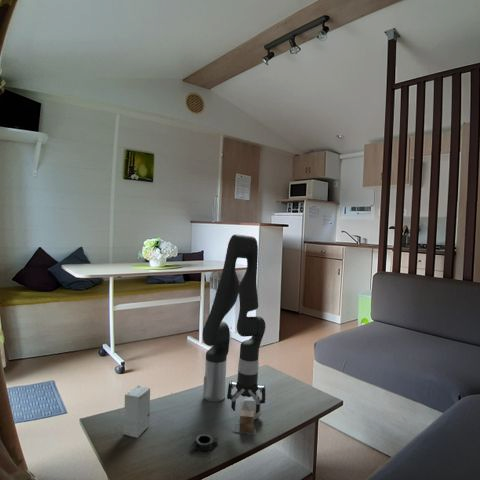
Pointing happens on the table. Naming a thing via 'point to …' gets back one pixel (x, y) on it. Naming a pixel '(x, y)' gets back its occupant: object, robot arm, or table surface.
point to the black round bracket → (203, 443)
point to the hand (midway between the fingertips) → (245, 411)
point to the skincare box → (137, 411)
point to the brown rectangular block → (246, 421)
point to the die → (250, 406)
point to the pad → (236, 430)
